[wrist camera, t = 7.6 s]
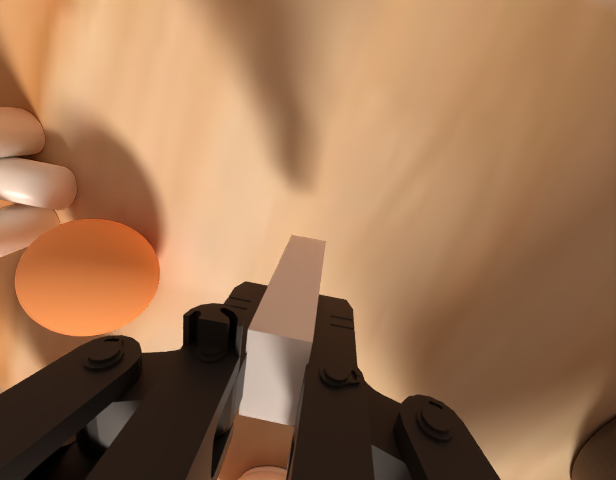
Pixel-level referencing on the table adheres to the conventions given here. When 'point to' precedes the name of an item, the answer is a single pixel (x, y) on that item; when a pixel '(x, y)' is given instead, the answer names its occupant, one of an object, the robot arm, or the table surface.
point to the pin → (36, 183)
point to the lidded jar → (265, 473)
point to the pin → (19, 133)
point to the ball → (87, 277)
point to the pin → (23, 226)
